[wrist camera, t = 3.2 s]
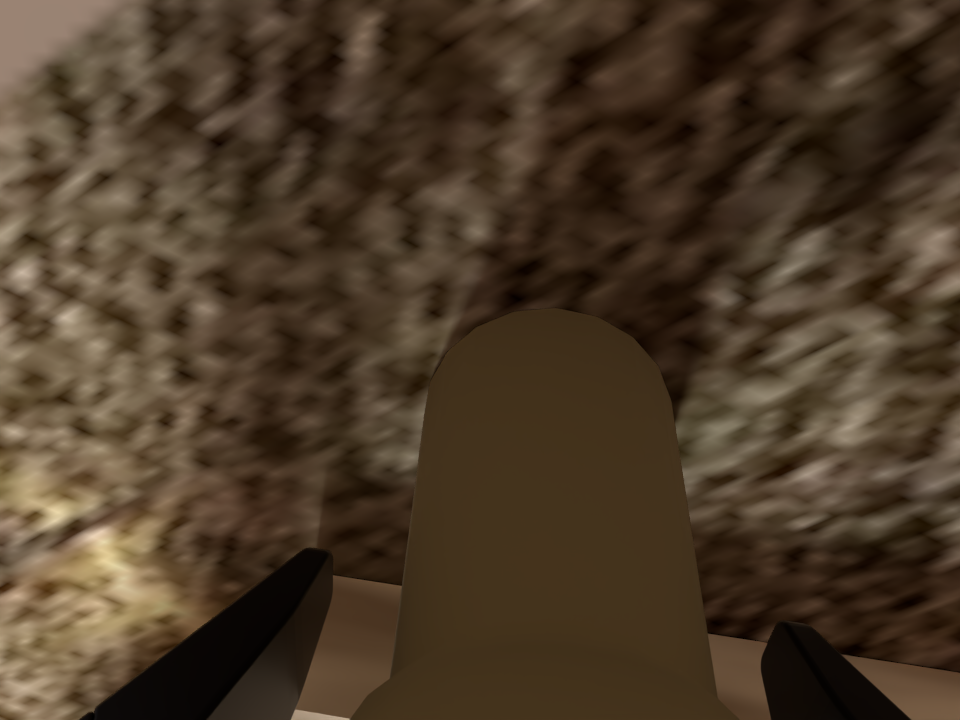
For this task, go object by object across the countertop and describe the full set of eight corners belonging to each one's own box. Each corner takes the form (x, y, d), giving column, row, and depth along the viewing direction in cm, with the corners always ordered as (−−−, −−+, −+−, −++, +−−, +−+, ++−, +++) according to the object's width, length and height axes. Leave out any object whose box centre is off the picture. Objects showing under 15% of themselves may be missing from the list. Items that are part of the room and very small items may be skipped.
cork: (694, 316, 12) (1354, 1193, 2) (651, 533, 15) (881, 1416, 5) (423, 299, 13) (-5, 960, 3) (425, 512, 15) (200, 1274, 5)
